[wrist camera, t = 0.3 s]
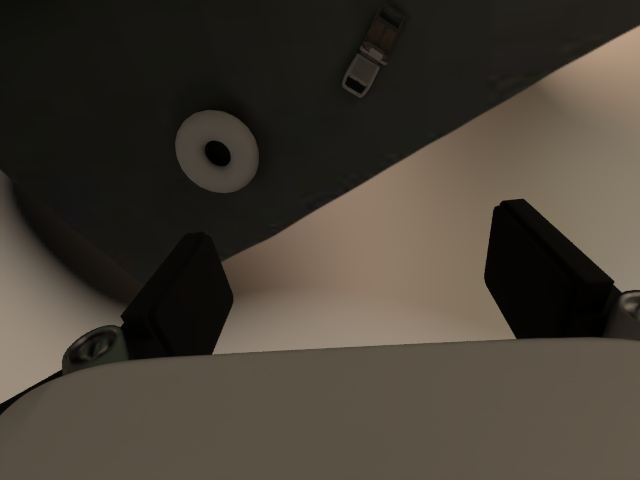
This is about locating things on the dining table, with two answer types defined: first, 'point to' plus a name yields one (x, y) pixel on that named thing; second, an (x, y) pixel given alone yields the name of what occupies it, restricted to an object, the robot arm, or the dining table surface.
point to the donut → (232, 135)
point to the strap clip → (373, 50)
